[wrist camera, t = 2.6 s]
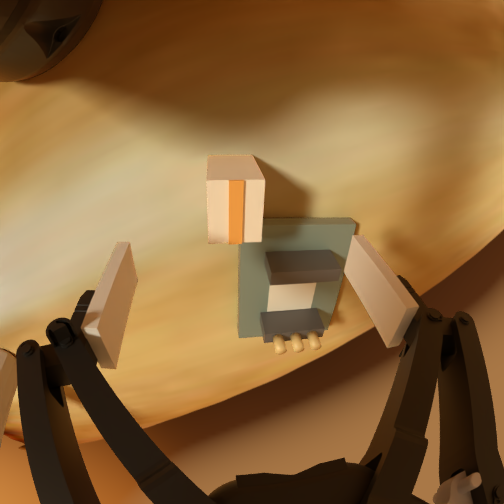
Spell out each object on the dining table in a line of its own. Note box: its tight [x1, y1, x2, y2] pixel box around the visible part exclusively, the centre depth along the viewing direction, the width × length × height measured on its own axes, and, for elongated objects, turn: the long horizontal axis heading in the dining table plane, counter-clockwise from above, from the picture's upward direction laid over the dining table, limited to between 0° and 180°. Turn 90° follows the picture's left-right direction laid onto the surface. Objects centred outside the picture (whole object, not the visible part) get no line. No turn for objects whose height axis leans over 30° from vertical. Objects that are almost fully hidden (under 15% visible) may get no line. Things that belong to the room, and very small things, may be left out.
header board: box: [238, 218, 356, 355], centre depth 31 cm, size 16×12×7 cm
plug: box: [207, 155, 265, 244], centre depth 24 cm, size 5×4×7 cm
